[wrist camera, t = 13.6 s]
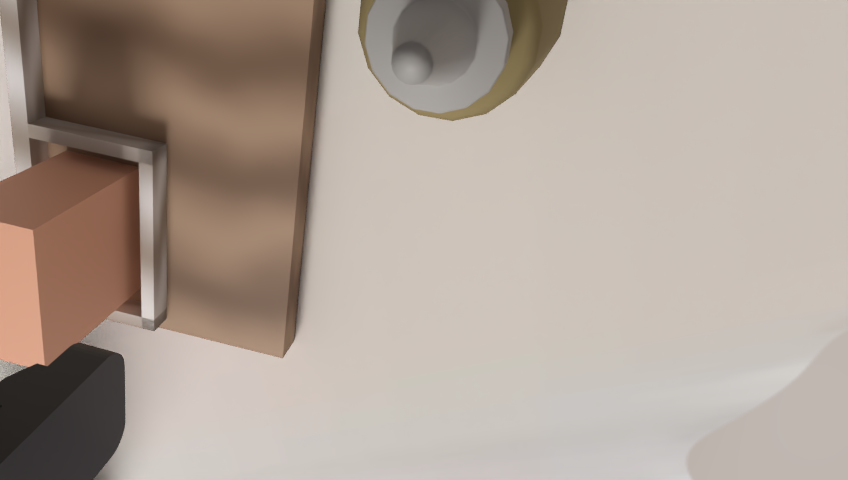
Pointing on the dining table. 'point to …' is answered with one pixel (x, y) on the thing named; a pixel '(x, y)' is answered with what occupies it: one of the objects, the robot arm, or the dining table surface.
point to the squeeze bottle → (457, 50)
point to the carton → (65, 252)
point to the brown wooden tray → (184, 143)
